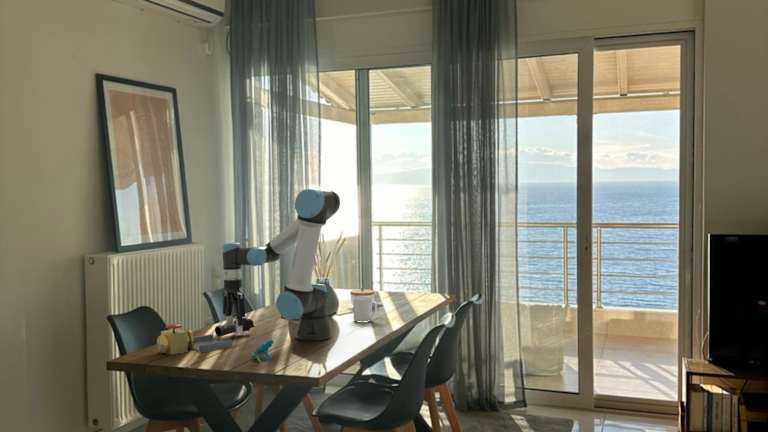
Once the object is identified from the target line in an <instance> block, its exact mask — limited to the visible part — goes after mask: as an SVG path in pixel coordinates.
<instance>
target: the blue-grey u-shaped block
mask: <svg viewBox="0 0 768 432" xmlns="http://www.w3.org/2000/svg"><path fill="white" fill-rule="evenodd" d="M228 348H234V345H233V339H228V340H223V341H220V340H217V339H215V338H214V333H213V334H212V333H210V334H205V335H199V336H194V347H193V348H192V349H193V351H195V350H196V352H198V351H199V353H202V352H203V353H208V352H212V351H217V350H219V351H220V350H222V349H223V350H225V349H228ZM192 349H191V350H192Z"/></svg>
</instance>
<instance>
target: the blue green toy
mask: <svg viewBox="0 0 768 432" xmlns="http://www.w3.org/2000/svg"><path fill="white" fill-rule="evenodd" d="M274 343H275V342H274V340H273V339H270V340H269V339H268V340H267V341H266V342H265V343H264V342H263V343H262V344H260V346H258V347H257V348H256V349H255V351H252V352H251V353H250V357H251V359H252V360H254V359H257V361H258V362H259V363H260V362H261V363H262V359H260V357H262V356H264V355H265V357H266V358H267V360H269V361H271V360H272V357H271V356H270V355H269V354H268V350H269V348H271V347H272V346H273V344H274Z"/></svg>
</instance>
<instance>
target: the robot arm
mask: <svg viewBox="0 0 768 432" xmlns="http://www.w3.org/2000/svg"><path fill="white" fill-rule="evenodd" d="M340 206H341V199H340V196H339V194H338V193H337V192H336V191H335V190H334V189H332V188H329V187H309V188H308V187H307V188H305V189H302V190H301V191H300V192H299V193H298V194H297V195H296V198H295V199H294V208H295V209H294V210H295V211H296V213H297V216H296V219H295V220H294V221H293V222H291V223H290V224H289V225H288V226H286V227H285V228H284V229H282V231H280V232H279V233H278V234H277V235H276V236H274V237H273V238H272V239H271V240H269V242H268V243H266V244H265V245H261V246H253V247H252V246H251V247H242V246H241V243H240V242H226V243H225V242H224V243H223V245H222V253H221V254H222V265H223V272H222V274H223V279H224V280H223V288H224V289H226V290H225V291H222V314H223V315H224V316H225V323H226V324H231V323H233V322H234V321H233V320H234V319H233V317H234V316H233V307H234V311H235V315H236V317H235V319H236V332H235V334H236V335H239V334H243V332H244V331H242V318H246V308H245V294H244V293H241V291H240V289H241V288H242V287H243V284H242V282H243V280H242V275H243V274H242V266H253V267H257V266H262V265H264V264H269V263H275V262H277V261H279V260H280V259H281V258H282V254H284V253H285V252H286V251H287V250H289V248H291V247H293V246H294V244H295V249H294V254H293V260H292V264H291V270H290V275H289V279H288V280H287V281H286V282H285V283H284V287H283V292H281V293H280V294H279V295H278V296H277V298H276V303H275V305H276V309H277V311H278V313H279V315H280V317H281V316H282V317H281V318H284V319H286V320H290V321H292V320H299V321H298V324H297V327H296V331H295V339H297V340H300V341H314V342H315V341H325V340H328V339H330V338H331V337H332V329H331V327H330V323H329V321H328V316H327V302H328V291H327V289H328V288H327V285H326V284H323V283H312V282H311V281H312V276H313V272H314V267H315V266H314V265H315V261H316V256H317V252H318V251H317V250H318V247H319V246H318V245H319V240H320V236H321V231H322V230H321V229H322V227H324V226H325V225H326V224H327V221H328V220H329V219H330V218H332V217H334V215H335V214H337V212H338V210H339V209H340ZM299 318H300V319H299ZM226 324H225V325H226Z"/></svg>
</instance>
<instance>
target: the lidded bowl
mask: <svg viewBox="0 0 768 432" xmlns="http://www.w3.org/2000/svg"><path fill="white" fill-rule="evenodd" d="M361 296H366V297H372V302H373V301H375V299H374V298H375V290H373V289H367V288H366V289H364V287H361V288H360V289H359V288H358V289H352V290H350V301H351V304H352V305H353V298H354V297H361Z"/></svg>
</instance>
